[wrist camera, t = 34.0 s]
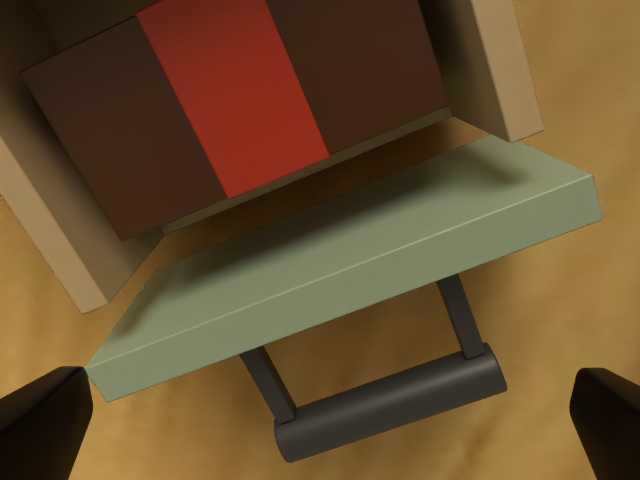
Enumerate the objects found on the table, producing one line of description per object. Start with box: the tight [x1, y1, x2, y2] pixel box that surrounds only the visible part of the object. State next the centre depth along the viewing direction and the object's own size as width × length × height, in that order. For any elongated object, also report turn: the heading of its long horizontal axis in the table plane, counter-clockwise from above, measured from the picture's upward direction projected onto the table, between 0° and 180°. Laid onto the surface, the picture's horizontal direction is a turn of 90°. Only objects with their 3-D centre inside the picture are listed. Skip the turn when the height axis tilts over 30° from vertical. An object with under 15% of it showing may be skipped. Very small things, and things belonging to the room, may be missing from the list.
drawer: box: [0, 0, 603, 463], centre depth 14 cm, size 20×13×6 cm
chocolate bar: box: [19, 0, 450, 242], centre depth 13 cm, size 5×9×4 cm, turn 113°
